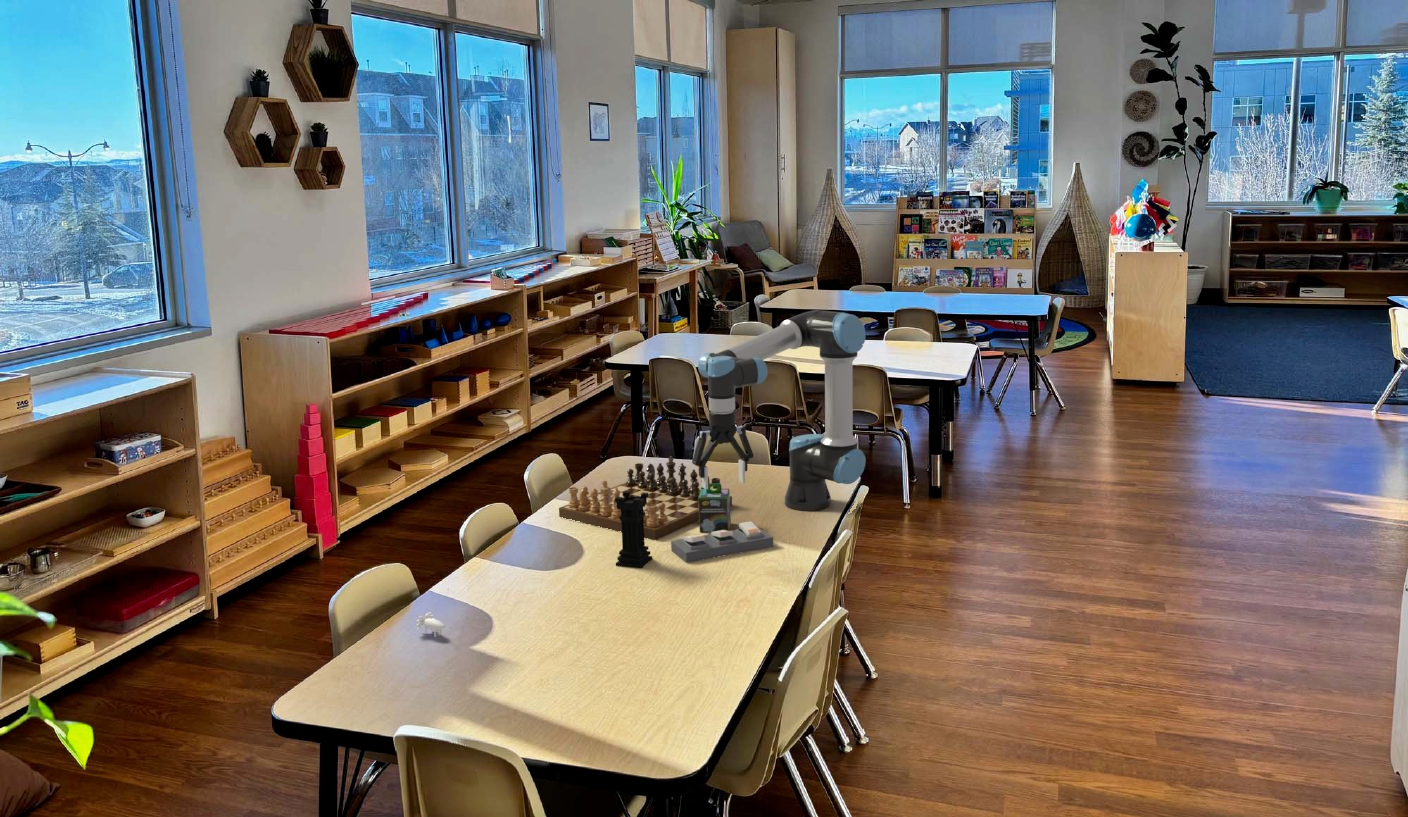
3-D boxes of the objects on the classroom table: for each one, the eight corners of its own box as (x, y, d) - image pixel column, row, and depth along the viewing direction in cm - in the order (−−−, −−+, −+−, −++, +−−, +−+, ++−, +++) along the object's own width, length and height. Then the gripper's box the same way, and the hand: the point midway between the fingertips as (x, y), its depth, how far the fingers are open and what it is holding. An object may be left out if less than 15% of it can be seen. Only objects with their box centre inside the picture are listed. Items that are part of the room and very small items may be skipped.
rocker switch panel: (756, 535, 338) (756, 523, 337) (773, 546, 328) (773, 534, 327) (671, 550, 327) (670, 538, 326) (686, 562, 317) (686, 550, 316)
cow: (412, 633, 274) (410, 615, 273) (429, 626, 278) (428, 608, 277) (444, 645, 267) (442, 627, 266) (461, 638, 271) (459, 619, 270)
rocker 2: (750, 524, 334) (751, 520, 333) (760, 534, 328) (760, 531, 328) (738, 526, 332) (739, 523, 331) (748, 536, 327) (748, 533, 326)
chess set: (655, 541, 336) (653, 494, 333) (559, 518, 360) (557, 474, 356) (732, 506, 367) (731, 463, 364) (639, 487, 391) (637, 447, 387)
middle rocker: (723, 533, 330) (723, 529, 330) (732, 535, 324) (732, 531, 324) (711, 535, 329) (711, 531, 329) (720, 537, 323) (720, 533, 323)
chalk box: (731, 523, 350) (730, 478, 346) (728, 533, 341) (727, 486, 338) (701, 523, 351) (700, 477, 347) (698, 532, 342) (697, 486, 339)
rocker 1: (696, 538, 327) (695, 534, 327) (704, 540, 321) (704, 536, 321) (683, 540, 325) (683, 536, 325) (692, 542, 319) (691, 538, 319)
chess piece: (652, 558, 321) (649, 492, 316) (641, 568, 313) (639, 500, 309) (626, 556, 323) (624, 490, 319) (615, 565, 316) (612, 498, 312)
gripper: (753, 403, 324) (754, 476, 329) (678, 413, 315) (681, 487, 320) (764, 409, 317) (765, 482, 322) (689, 418, 308) (691, 494, 313)
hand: (723, 485), depth 321 cm, fingers open, 11 cm apart
